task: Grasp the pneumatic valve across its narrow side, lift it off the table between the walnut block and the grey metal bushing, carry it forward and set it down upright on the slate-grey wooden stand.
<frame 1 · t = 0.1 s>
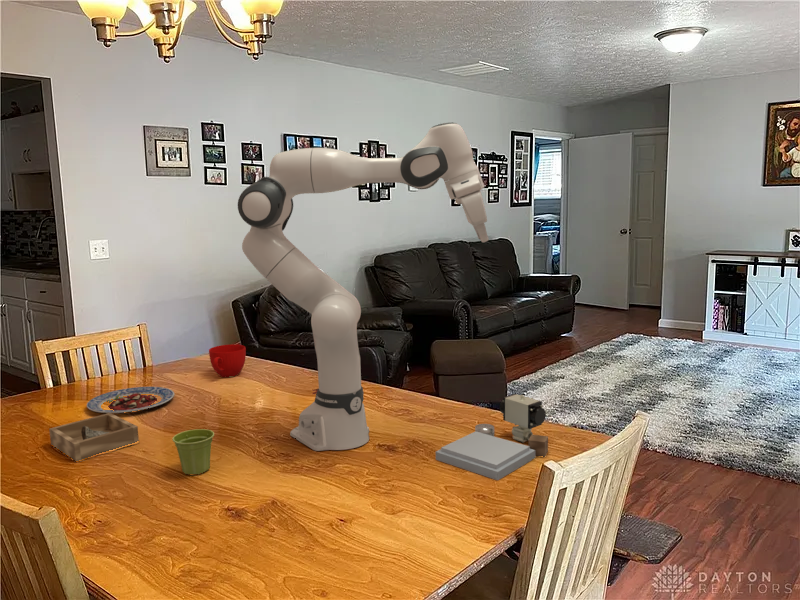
hand: (483, 240, 159), 52 cm above the table, tool tilted 20°, fingers open, 8 cm apart
walnut block: (538, 453, 158), on the table
ceramic plate: (132, 405, 204), on the table
grey metal bushing: (484, 436, 170), on the table
rock sample: (97, 443, 170), point 1 cm above the table, touching rock tray
ceramic cup: (226, 377, 234), on the table
plant pot: (196, 471, 153), on the table
pneumatic valve: (523, 440, 167), on the table
rock tray: (95, 444, 171), on the table
stand: (485, 458, 155), on the table
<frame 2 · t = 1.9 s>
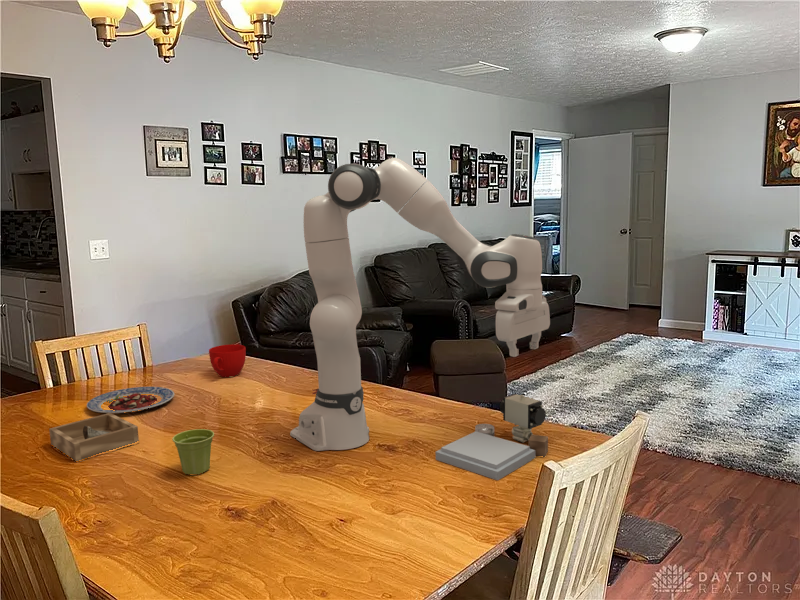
hand: (524, 352, 164), 23 cm above the table, tool pointing down, fingers open, 8 cm apart
nothing on the table moved.
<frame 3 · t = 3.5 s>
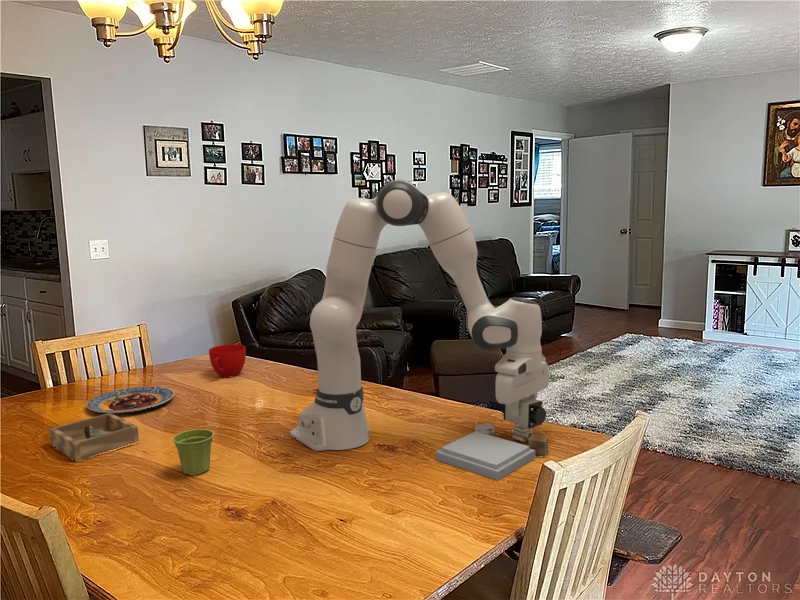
hand: (523, 412, 166), 7 cm above the table, tool pointing down, fingers open, 5 cm apart
pneumatic valve: (523, 439, 167), on the table, touching gripper
everything else where it was.
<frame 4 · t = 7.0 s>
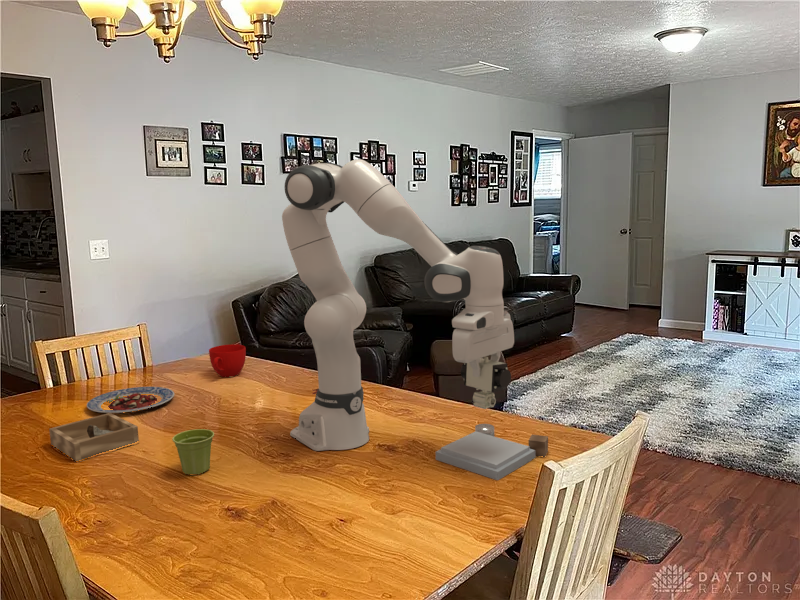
hand: (485, 373, 152), 21 cm above the table, tool pointing down, fingers closed on pneumatic valve, 5 cm apart
pneumatic valve: (484, 407, 152), point 13 cm above the table, touching gripper
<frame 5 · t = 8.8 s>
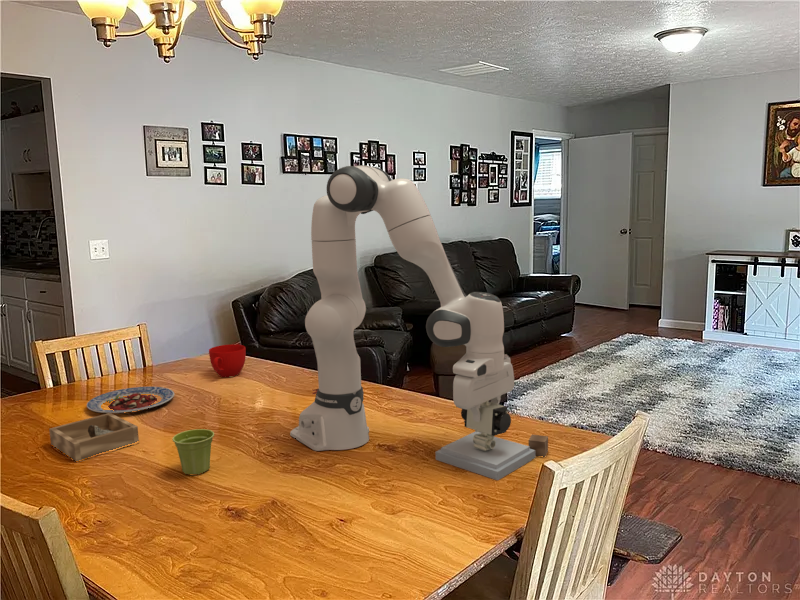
hand: (485, 417, 154), 11 cm above the table, tool pointing down, fingers closed on pneumatic valve, 5 cm apart
pneumatic valve: (484, 449, 154), point 3 cm above the table, touching gripper, stand
when the fingers open (10 cm above the table, at t = 10.1 s): pneumatic valve stays where it is, resting on stand.
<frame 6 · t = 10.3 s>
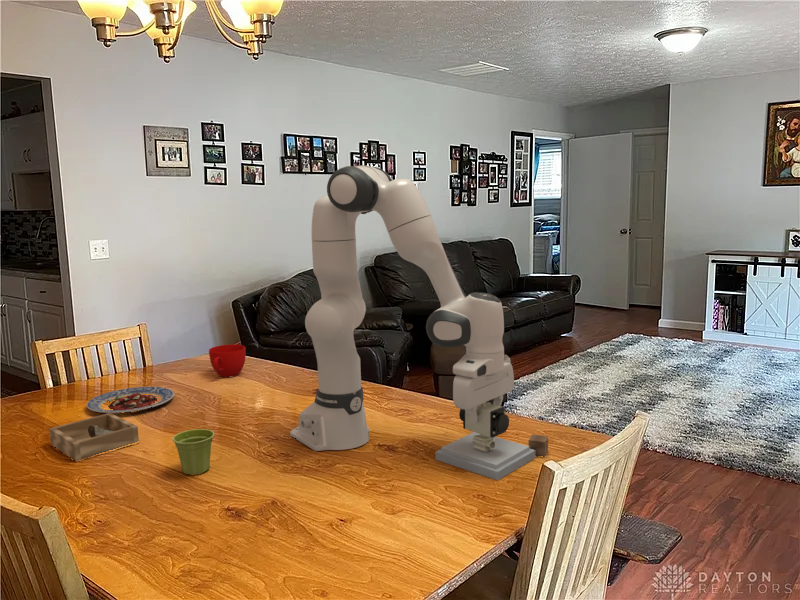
hand: (485, 417, 154), 10 cm above the table, tool pointing down, fingers open, 7 cm apart
pneumatic valve: (484, 449, 154), point 3 cm above the table, touching stand
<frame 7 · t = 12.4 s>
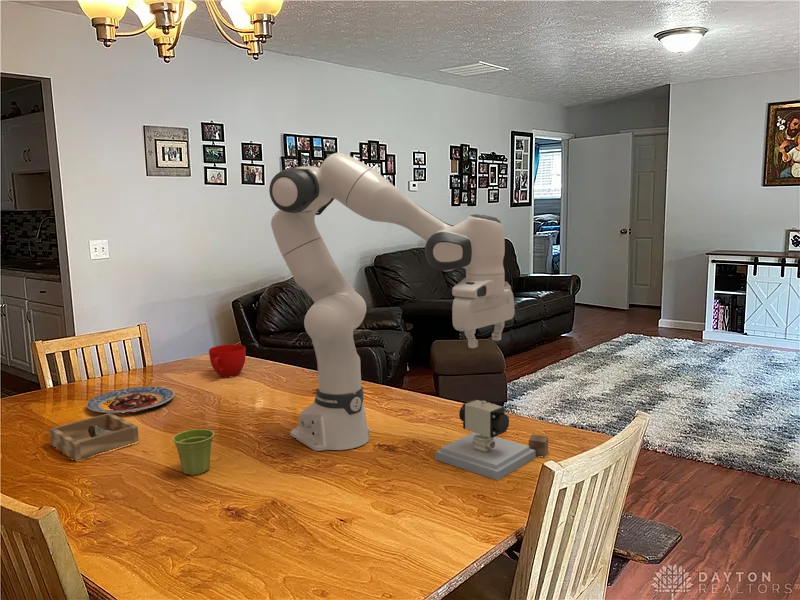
hand: (485, 343, 151), 29 cm above the table, tool pointing down, fingers open, 8 cm apart
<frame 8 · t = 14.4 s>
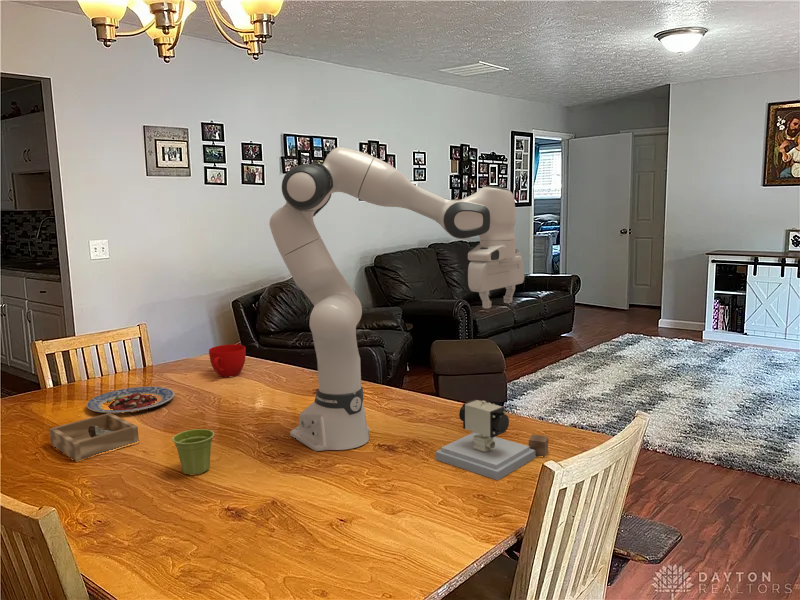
hand: (497, 305, 164), 35 cm above the table, tool pointing down, fingers open, 8 cm apart
at the end: pneumatic valve inside the target area on the stand (1.0 cm from its centre), point 2.8 cm above the stand's base; pneumatic valve tilted 0°; the gripper is holding nothing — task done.
